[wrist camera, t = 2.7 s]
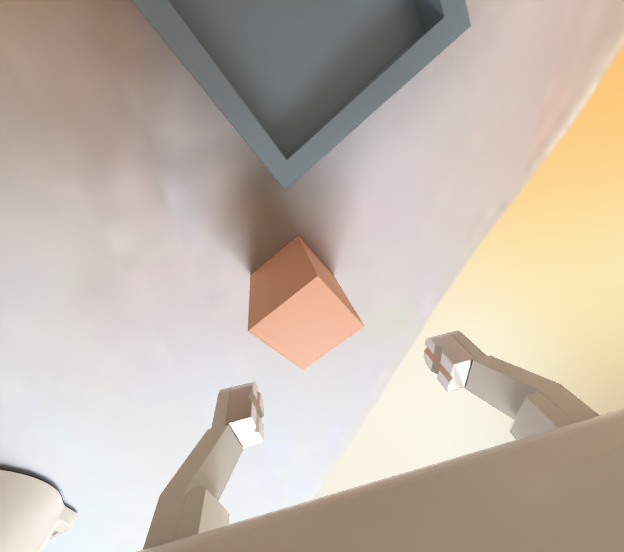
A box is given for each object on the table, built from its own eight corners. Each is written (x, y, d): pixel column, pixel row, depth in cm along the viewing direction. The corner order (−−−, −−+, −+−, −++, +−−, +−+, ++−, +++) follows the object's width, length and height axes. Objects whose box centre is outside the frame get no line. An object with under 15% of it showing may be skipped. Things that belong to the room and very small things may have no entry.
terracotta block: (290, 309, 19) (303, 369, 14) (250, 274, 17) (247, 331, 12) (333, 276, 18) (364, 326, 13) (298, 235, 16) (317, 275, 11)
